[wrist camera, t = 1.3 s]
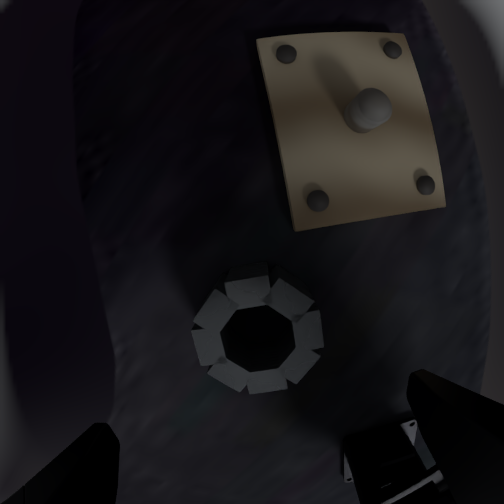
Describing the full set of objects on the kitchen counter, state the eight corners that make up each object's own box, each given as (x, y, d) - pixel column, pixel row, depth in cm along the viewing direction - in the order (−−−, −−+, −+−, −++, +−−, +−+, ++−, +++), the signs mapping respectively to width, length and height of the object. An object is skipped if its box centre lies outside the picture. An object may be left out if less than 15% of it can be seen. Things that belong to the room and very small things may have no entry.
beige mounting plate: (436, 205, 18) (476, 209, 14) (293, 229, 19) (303, 239, 14) (397, 40, 16) (424, 11, 12) (256, 47, 17) (255, 10, 12)
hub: (317, 353, 20) (327, 381, 16) (218, 368, 20) (210, 398, 17) (304, 254, 19) (313, 267, 15) (194, 273, 19) (180, 289, 16)
